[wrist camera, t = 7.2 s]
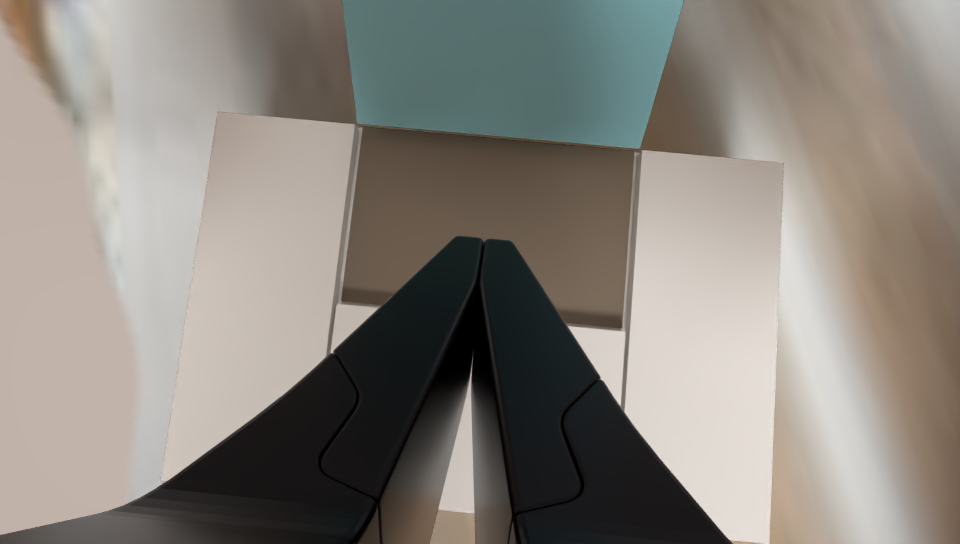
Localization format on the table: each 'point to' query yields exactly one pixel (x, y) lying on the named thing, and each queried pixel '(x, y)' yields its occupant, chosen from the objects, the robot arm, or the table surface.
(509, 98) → the flap
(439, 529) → the table surface
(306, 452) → the robot arm
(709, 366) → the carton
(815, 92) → the table surface
